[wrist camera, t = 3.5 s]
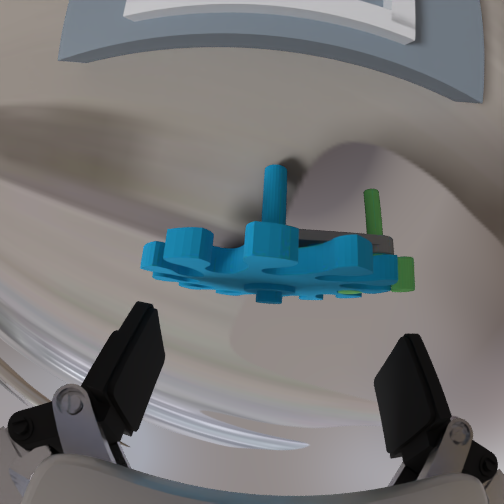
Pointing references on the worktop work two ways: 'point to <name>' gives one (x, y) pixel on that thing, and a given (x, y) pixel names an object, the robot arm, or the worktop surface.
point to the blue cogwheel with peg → (284, 256)
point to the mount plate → (297, 34)
